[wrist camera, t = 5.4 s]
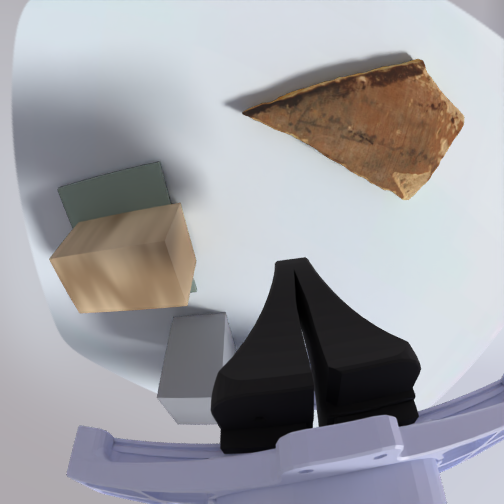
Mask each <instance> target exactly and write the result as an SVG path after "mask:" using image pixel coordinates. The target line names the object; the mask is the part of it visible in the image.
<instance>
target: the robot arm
mask: <svg viewBox="0 0 504 504" xmlns="http://www.w3.org/2000/svg"><path fill="white" fill-rule="evenodd" d="M301 329H302V330H301ZM302 333H303V335H302ZM303 337H304V339H303ZM304 340H305V343H304ZM305 344H306V347H305ZM306 348H307V351H308V355H309V359H308V355H307V351H306ZM309 360H310V363H309ZM420 370H421V366H420V363H419V360H418V358H417V356H416V354H415V352H414V351H413V349H412V347H411V346H410V344H409V343H408V342H407V341H405V340H403V339H401V338H398V337H396V336H394V335H392V334H390V333H388V332H386V331H384V330H382V329H380V328H379V327H377V326H375V325H374V324H372V323H371V322H369V321H368V320H366V319H365V318H363V317H362V316H360V315H359V314H358V313H357V312H355V311H354V310H353V309H352V308H350V307H349V306H348V305H347V304H346V303H345V302H343V301H342V300H341V299H340V298H339V297H338V296H337V295H336V294H335V293H334V292H333V291H332V290H331V288H330V287H329V286H328V285H327V284H326V283H325V282H324V281H323V279H322V278H321V277H320V276H319V274H318V273H317V272H316V271H315V269H314V268H313V266H312V265H311V263H310V262H309V260H308V259H307V258H306V257H304V258H297V259H290V260H282V261H277V262H276V263H275V272H274V277H273V282H272V285H271V288H270V292H269V295H268V297H267V300H266V303H265V305H264V308H263V310H262V312H261V314H260V316H259V318H258V320H257V322H256V324H255V325H254V327H253V329H252V330H251V332H250V334H249V335H248V337H247V338H246V340H245V341H244V343H243V344H242V345H241V346H240V348H239V349H238V350H237V352H236V353H235V354H234V355H233V357H232V358H231V359H230V360H229V361H228V362H227V363H226V364H225V365H224V366H223V367H222V368H221V369H220V370H219V371H218V374H217V377H216V380H215V383H214V386H213V391H212V396H211V414H212V416H213V418H214V419H215V421H216V422H217V424H218V426H219V427H220V429H221V438H220V444H186V443H164V442H149V441H138V440H128V439H120V438H114V437H113V436H112V435H111V434H110V433H109V432H107V431H105V430H103V429H99V428H93V427H87V426H79V427H78V431H77V434H76V438H75V441H74V445H73V449H72V453H71V457H70V461H69V466H68V470H67V474H66V475H67V477H69V478H71V479H73V480H75V481H77V482H78V483H80V484H82V485H85V486H86V487H88V488H91V489H92V490H95V491H97V492H99V493H102V494H106V495H110V496H114V497H119V498H123V499H128V500H133V501H137V502H142V503H147V504H447V502H446V497H445V493H444V489H443V485H442V482H441V477H440V473H441V472H443V471H445V470H447V469H450V468H452V467H454V466H456V465H458V464H460V463H462V462H464V461H466V460H468V459H470V458H472V457H474V456H476V455H477V454H479V453H481V452H483V451H485V450H487V449H488V448H490V447H492V446H494V445H495V444H497V443H499V442H501V441H502V440H504V374H503V376H502V378H501V379H500V380H498V381H496V382H494V383H491V384H489V385H487V386H485V387H483V388H480V389H478V390H476V391H473V392H471V393H469V394H466V395H463V396H461V397H458V398H456V399H453V400H450V401H448V402H445V403H442V404H439V405H436V406H434V407H431V408H428V409H425V410H421V411H417V408H416V405H415V402H414V399H415V393H414V390H413V386H414V384H415V382H416V380H417V378H418V376H419V374H420ZM314 410H317V414H318V423H319V427H317V428H313V420H314Z"/></svg>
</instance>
